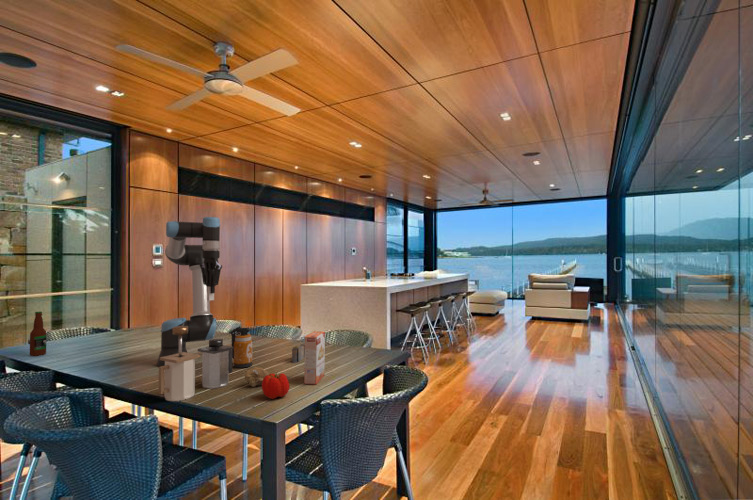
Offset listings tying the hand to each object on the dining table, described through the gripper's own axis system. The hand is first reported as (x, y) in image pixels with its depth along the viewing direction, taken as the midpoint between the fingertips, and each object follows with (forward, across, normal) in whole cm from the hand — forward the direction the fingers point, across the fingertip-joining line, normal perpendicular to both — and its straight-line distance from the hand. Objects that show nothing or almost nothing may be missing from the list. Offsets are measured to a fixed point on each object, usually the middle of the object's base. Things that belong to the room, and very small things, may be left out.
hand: (210, 300), depth 187 cm
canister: (+36, 0, +19) cm, 41 cm away
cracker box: (+35, +48, +18) cm, 62 cm away
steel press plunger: (+32, +13, -8) cm, 35 cm away
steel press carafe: (+35, +13, -6) cm, 38 cm away
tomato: (+35, +48, -7) cm, 59 cm away
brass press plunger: (+23, +13, -25) cm, 37 cm away
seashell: (+35, +30, +2) cm, 46 cm away
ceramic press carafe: (+35, +13, -26) cm, 46 cm away
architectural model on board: (+36, +18, +43) cm, 59 cm away
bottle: (+38, -124, -19) cm, 131 cm away
